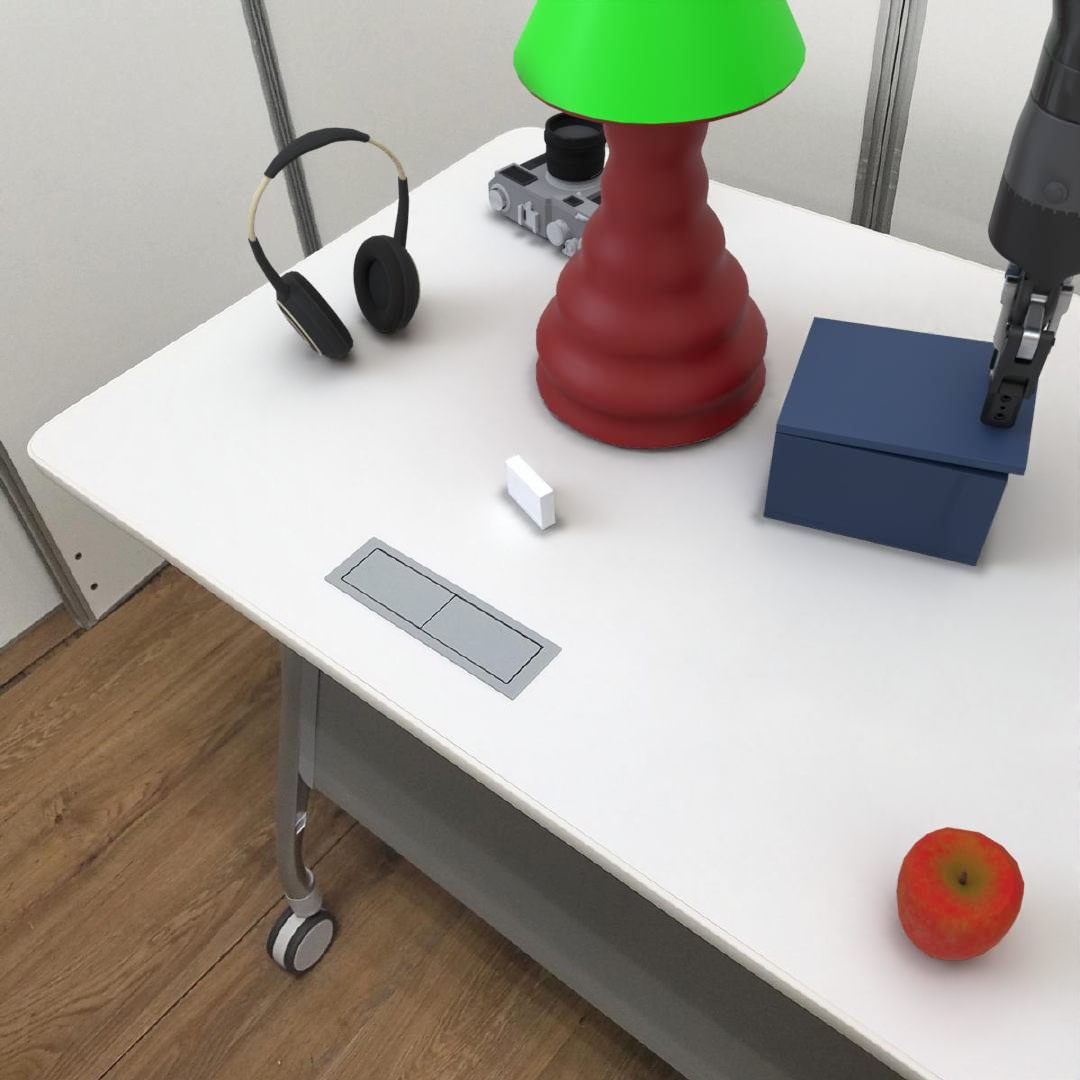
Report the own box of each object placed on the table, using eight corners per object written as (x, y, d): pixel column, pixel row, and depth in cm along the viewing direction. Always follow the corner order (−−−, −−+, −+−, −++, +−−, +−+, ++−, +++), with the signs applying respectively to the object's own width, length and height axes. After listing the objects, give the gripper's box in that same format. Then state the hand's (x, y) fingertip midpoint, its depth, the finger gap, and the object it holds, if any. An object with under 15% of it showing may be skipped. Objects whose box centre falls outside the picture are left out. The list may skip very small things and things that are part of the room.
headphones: (451, 327, 101) (421, 123, 86) (308, 394, 96) (250, 190, 81) (404, 284, 106) (368, 84, 91) (266, 346, 101) (204, 144, 86)
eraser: (542, 530, 84) (540, 497, 81) (507, 493, 87) (504, 460, 84) (555, 523, 84) (553, 490, 82) (521, 487, 87) (517, 453, 84)
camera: (680, 146, 102) (604, 184, 97) (672, 241, 109) (601, 281, 104) (550, 86, 111) (475, 118, 106) (550, 178, 118) (480, 212, 113)
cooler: (994, 450, 87) (1025, 364, 80) (975, 566, 79) (1007, 482, 73) (799, 410, 91) (812, 325, 85) (763, 516, 84) (775, 432, 77)
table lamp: (808, 356, 96) (911, -268, 62) (678, 489, 86) (715, -163, 52) (625, 278, 104) (627, -304, 71) (489, 391, 95) (416, -220, 61)
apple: (951, 858, 65) (982, 798, 59) (1019, 953, 61) (1059, 898, 56) (860, 899, 64) (883, 841, 58) (923, 999, 60) (955, 948, 54)
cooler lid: (1040, 358, 79) (1057, 301, 76) (1023, 476, 72) (1042, 419, 68) (813, 324, 85) (819, 270, 81) (775, 432, 77) (780, 377, 73)
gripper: (1141, 251, 58) (1049, 478, 70) (1148, 119, 66) (1066, 343, 79) (991, 230, 60) (929, 454, 72) (1017, 105, 68) (957, 325, 81)
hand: (1001, 395), depth 76 cm, fingers closed on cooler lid, 5 cm apart
